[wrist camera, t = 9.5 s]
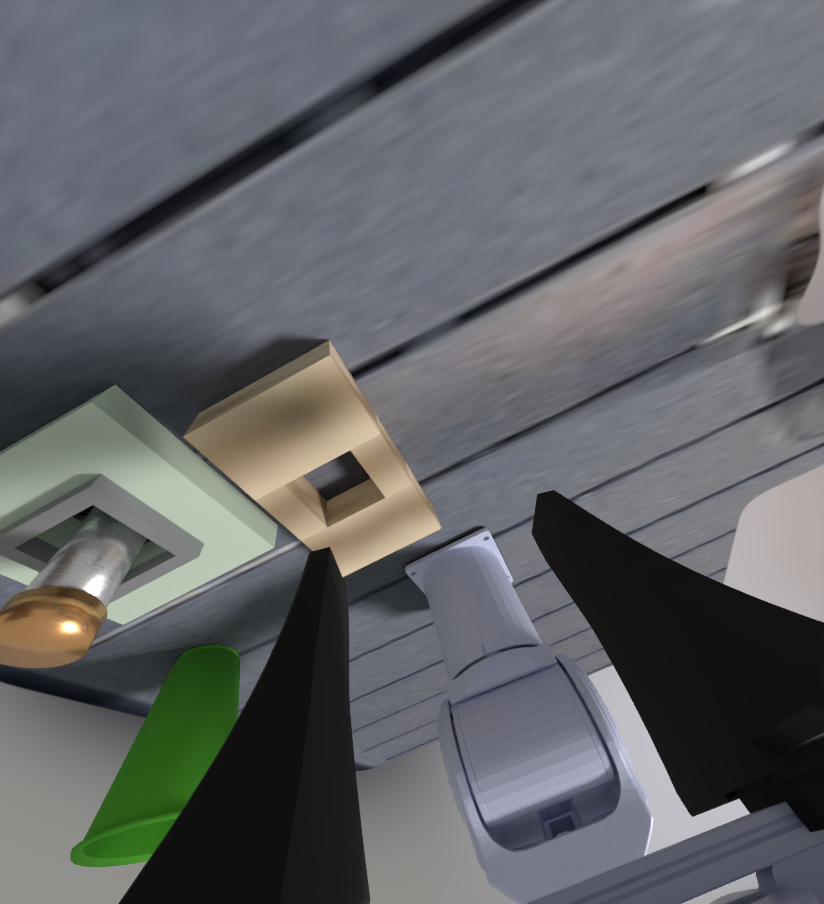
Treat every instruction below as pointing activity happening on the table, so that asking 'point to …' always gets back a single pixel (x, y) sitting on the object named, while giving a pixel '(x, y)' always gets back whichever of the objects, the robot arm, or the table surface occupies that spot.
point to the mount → (316, 459)
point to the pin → (68, 595)
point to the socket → (125, 502)
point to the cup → (166, 758)
